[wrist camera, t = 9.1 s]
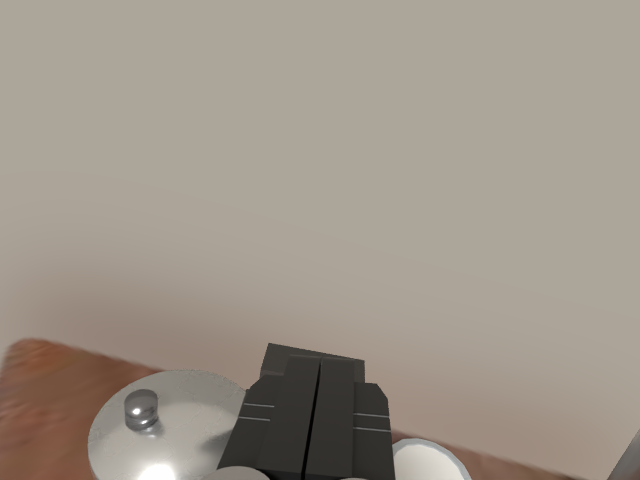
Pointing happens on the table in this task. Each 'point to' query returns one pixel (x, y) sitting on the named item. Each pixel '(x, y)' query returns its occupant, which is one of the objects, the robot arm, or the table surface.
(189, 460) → the lid
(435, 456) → the white cylinder
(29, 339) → the table surface
